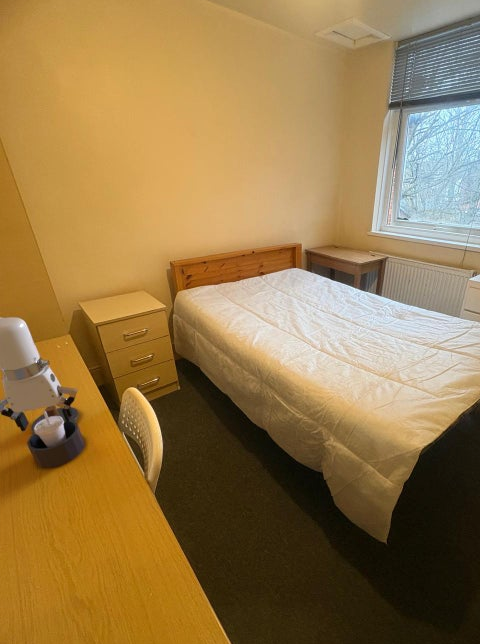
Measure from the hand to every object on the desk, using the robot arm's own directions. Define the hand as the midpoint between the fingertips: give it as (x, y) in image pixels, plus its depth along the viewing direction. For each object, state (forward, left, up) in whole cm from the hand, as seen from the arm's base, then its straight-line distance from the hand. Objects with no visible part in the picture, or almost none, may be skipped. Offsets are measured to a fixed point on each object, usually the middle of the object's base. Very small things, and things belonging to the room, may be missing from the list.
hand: (47, 422), depth 84 cm
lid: (-4, +14, -10) cm, 18 cm away
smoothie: (0, 0, -10) cm, 10 cm away
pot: (0, 0, -10) cm, 10 cm away
